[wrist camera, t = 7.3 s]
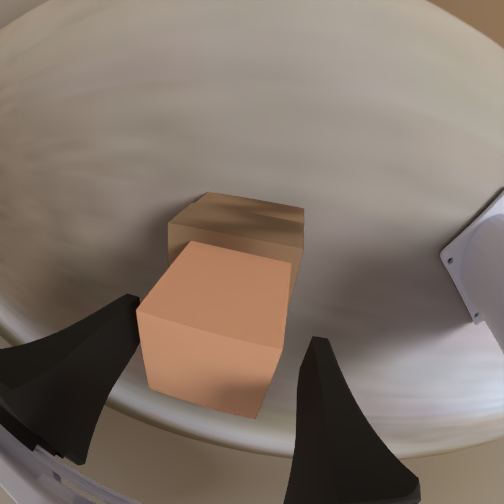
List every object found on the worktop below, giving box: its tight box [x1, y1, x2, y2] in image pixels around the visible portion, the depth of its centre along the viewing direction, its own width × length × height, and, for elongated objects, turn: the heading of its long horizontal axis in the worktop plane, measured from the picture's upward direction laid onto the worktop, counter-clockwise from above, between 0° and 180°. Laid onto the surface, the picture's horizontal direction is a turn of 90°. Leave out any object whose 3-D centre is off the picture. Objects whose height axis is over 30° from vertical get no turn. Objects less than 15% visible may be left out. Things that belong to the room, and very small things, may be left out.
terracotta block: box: [136, 241, 291, 419], centre depth 11 cm, size 4×4×5 cm
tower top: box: [168, 203, 304, 311], centre depth 14 cm, size 6×6×3 cm
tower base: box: [195, 192, 304, 224], centre depth 17 cm, size 6×6×3 cm
